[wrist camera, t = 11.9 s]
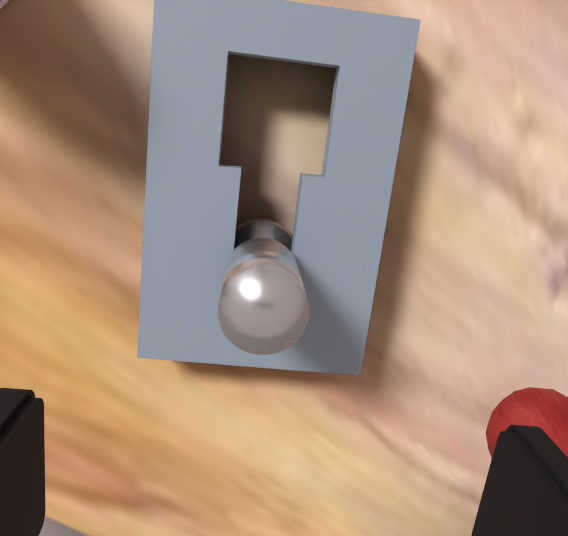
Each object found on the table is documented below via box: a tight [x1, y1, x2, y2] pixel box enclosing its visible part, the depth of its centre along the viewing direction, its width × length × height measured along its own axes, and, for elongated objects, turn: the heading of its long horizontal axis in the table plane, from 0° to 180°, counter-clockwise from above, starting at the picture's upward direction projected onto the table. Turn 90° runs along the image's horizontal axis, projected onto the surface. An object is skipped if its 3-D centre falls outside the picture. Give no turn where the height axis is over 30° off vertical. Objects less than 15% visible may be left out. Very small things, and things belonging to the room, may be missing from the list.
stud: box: [218, 218, 309, 355], centre depth 26 cm, size 4×4×10 cm
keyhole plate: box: [137, 0, 420, 376], centre depth 28 cm, size 18×12×3 cm, turn 173°
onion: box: [486, 387, 568, 457], centre depth 30 cm, size 6×6×8 cm
